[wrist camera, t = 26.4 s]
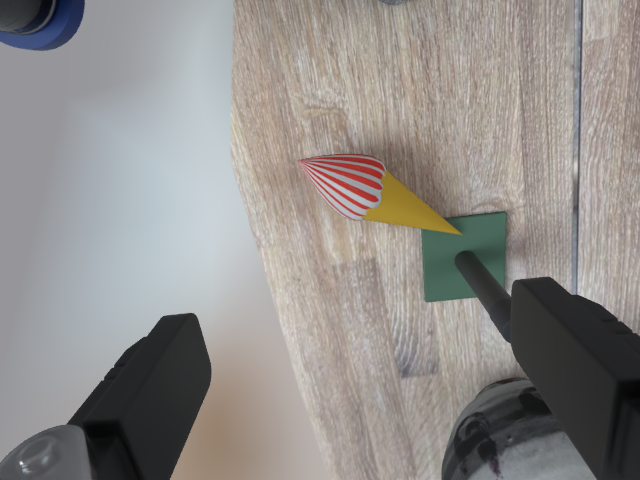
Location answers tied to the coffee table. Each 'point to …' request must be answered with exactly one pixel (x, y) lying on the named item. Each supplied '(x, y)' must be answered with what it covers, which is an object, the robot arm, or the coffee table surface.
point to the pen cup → (394, 2)
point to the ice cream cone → (369, 192)
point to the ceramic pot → (511, 439)
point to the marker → (486, 290)
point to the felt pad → (442, 248)
